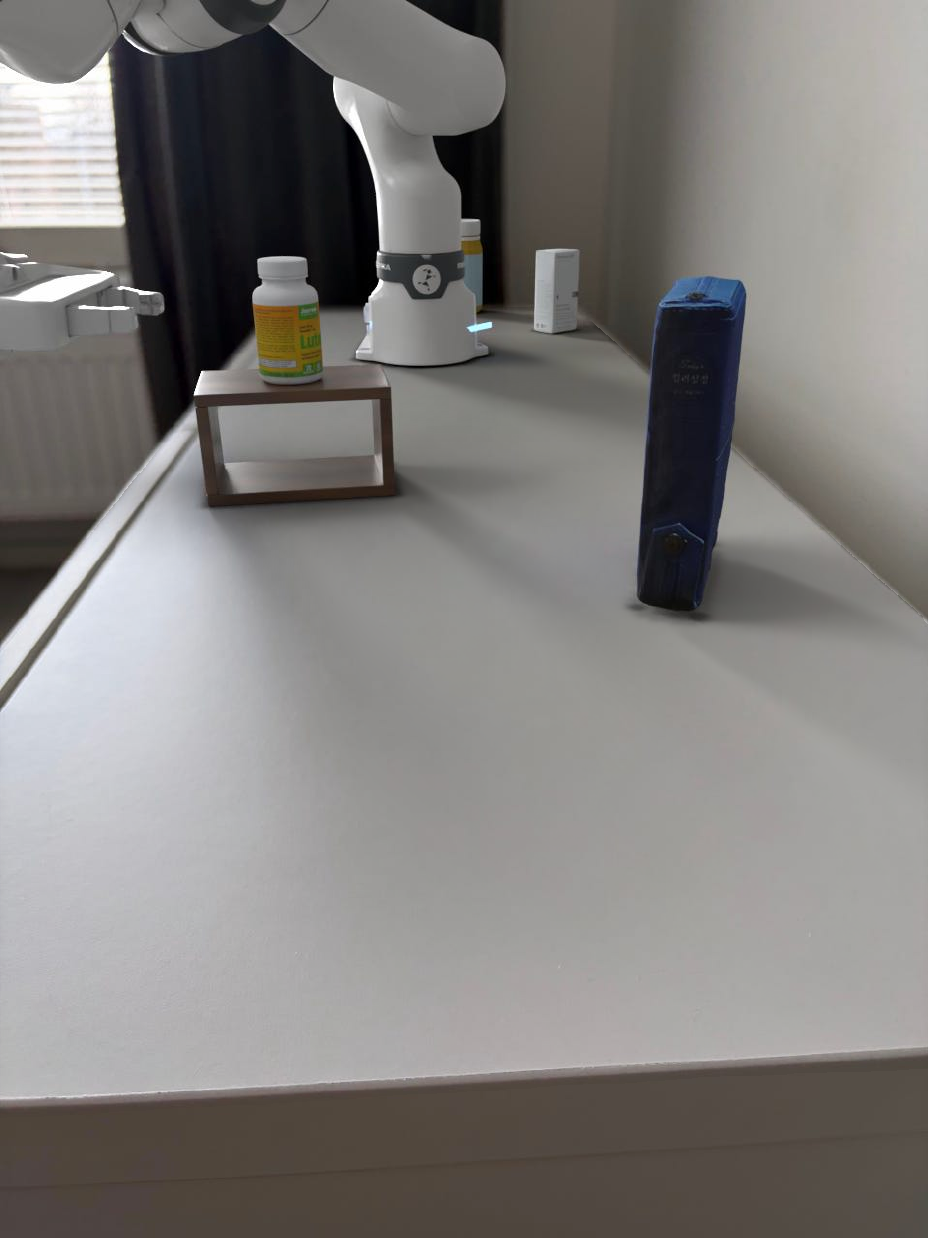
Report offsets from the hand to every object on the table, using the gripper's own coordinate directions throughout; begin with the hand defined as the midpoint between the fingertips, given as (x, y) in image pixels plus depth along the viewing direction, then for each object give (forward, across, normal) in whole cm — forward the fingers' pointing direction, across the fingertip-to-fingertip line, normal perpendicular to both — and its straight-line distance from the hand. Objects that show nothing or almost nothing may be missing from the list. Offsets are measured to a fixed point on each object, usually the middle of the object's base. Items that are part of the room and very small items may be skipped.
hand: (149, 311), depth 80 cm
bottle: (+32, +93, +12) cm, 99 cm away
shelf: (+12, 0, +14) cm, 19 cm away
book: (+41, -22, +13) cm, 48 cm away
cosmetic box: (+46, +74, +11) cm, 88 cm away
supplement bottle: (+12, 0, +5) cm, 13 cm away
